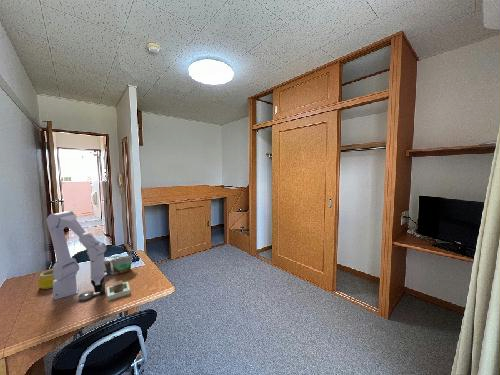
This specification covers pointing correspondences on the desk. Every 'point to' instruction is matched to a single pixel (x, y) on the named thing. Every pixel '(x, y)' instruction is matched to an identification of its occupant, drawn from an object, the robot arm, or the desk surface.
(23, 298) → the desk surface
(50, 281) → the mug
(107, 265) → the giant panda
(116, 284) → the block
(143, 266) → the desk surface
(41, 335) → the desk surface
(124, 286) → the tray
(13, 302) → the desk surface
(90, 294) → the crank
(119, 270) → the food container
